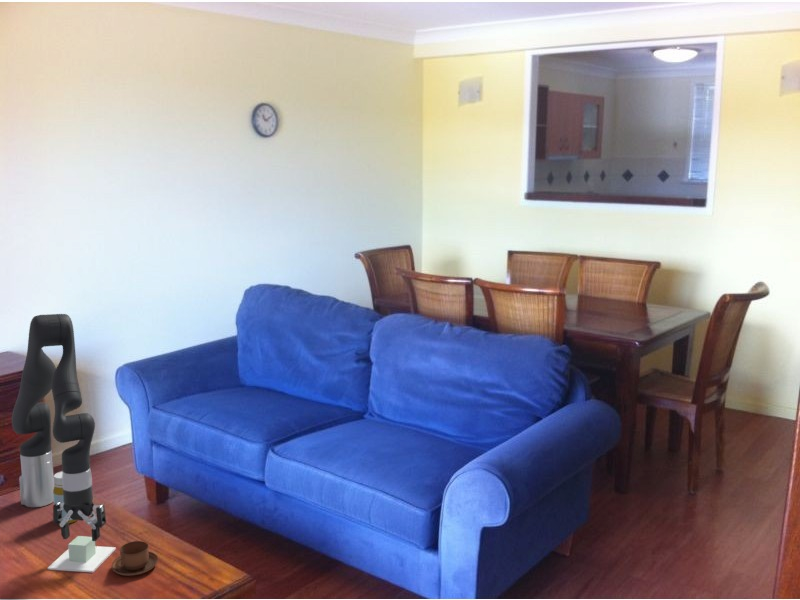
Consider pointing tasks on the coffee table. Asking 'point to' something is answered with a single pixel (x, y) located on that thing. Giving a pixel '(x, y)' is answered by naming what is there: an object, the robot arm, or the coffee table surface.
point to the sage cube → (81, 549)
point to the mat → (88, 566)
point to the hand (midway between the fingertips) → (80, 538)
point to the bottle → (59, 492)
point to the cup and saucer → (134, 559)
